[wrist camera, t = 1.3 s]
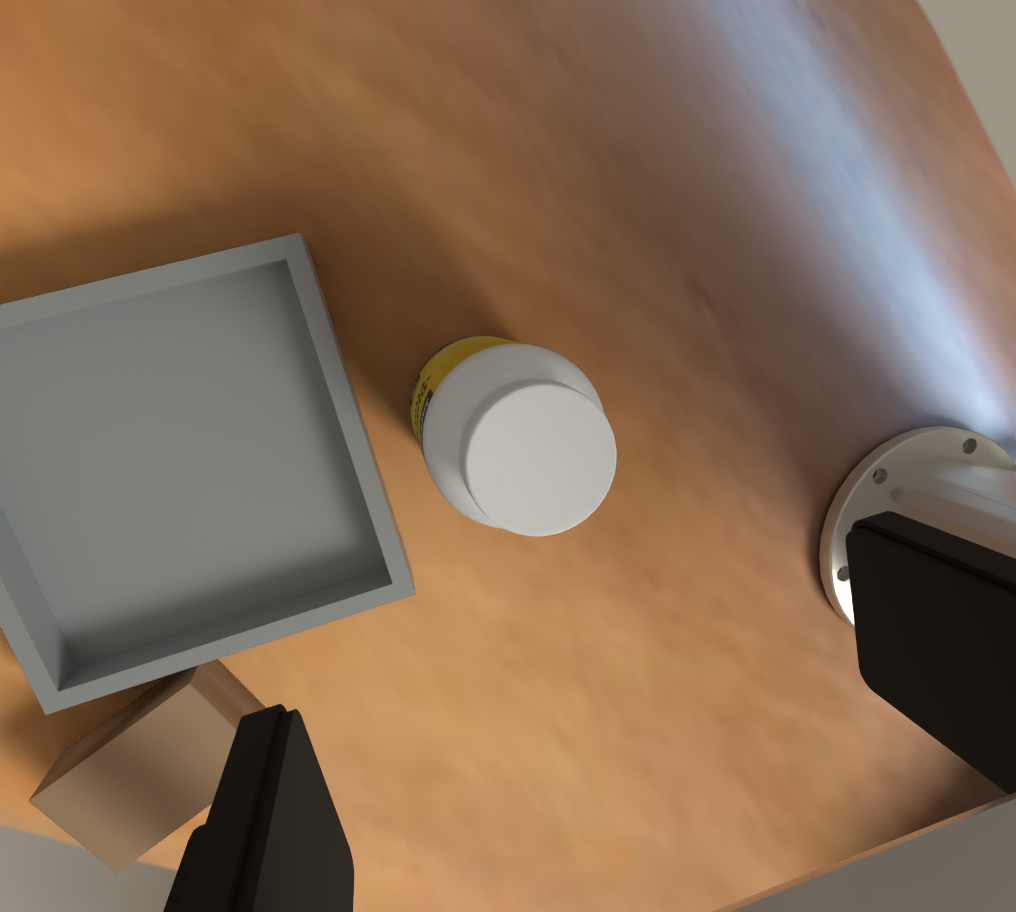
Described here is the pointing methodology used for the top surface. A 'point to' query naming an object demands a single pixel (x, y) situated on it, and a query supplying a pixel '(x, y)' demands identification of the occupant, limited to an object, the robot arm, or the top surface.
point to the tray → (182, 472)
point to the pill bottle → (513, 435)
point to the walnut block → (147, 765)
